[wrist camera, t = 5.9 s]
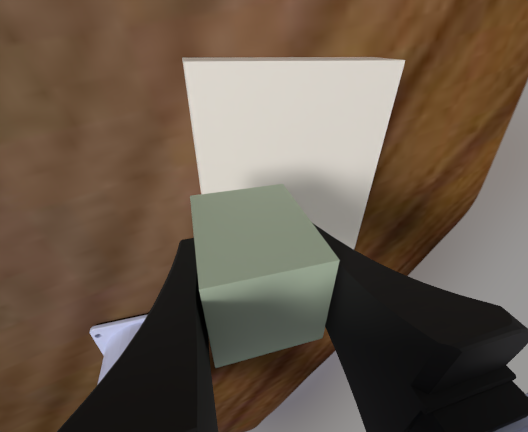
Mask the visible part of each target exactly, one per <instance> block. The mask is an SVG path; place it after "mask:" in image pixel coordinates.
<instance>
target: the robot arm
mask: <svg viewBox="0 0 528 432" xmlns="http://www.w3.org/2000/svg"><path fill="white" fill-rule="evenodd" d="M313 225H314V226H315V227H316V229H317V230H318V232H319V233H320V234H321V236H322V237H323V238H324V240H325V241H326V242H327V244H328V245H329V246H330V248H331V249H332V250H333V252H334V253H335V254H336V256H337V257H338V258H339V260H340V261H339V265H338V270H337V275H336V279H335V284H334V288H333V293H332V297H331V302H330V306H329V311H328V315H327V320H326V324H325V327H326V329H327V331H328V333H329V336H330V338H331V340H332V343H333V345H334V347H335V350H336V352H337V354H338V357H339V360H340V362H341V365H342V367H343V369H344V372H345V374H346V377H347V380H348V382H349V385H350V388H351V390H352V393H353V396H354V398H355V401H356V403H357V406H358V409H359V412H360V415H361V418H362V421H363V424H364V426H365V429H366V432H528V393H527V394H524V392H522V391H521V389H520V388H518V386H517V385H516V384H515V383H514V382H513V381H512V380H514V379H516V375H515V374H514V373H513V372H512V371H511V370H510V369H509V368H508V367H507V366H506V364H508V362H510V361H511V360H512V359H513V358H514V357H515V356H516V355H517V354H518V353H519V352H520V351H521V350H522V349H523V348H524V347H525V346H526V344H527V343H528V329H527V328H526V327H525V326H524V325H522V324H521V323H520V322H519V321H518V320H517V319H515V318H514V317H513V316H512V315H511V314H510V313H508V312H507V311H506V310H505V309H503V308H502V307H501V306H498V305H494V304H491V303H487V302H483V301H480V300H476V299H472V298H469V297H465V296H461V295H458V294H455V293H452V292H449V291H446V290H442V289H440V288H437V287H434V286H431V285H428V284H425V283H423V282H420V281H418V280H415V279H413V278H410V277H408V276H405V275H403V274H401V273H398V272H396V271H394V270H392V269H390V268H388V267H385V266H383V265H381V264H379V263H377V262H375V261H373V260H371V259H369V258H368V257H366V256H364V255H362V254H361V253H359V252H357V251H355V250H354V249H352V248H350V247H349V246H347V245H345V244H344V243H342V242H340V241H339V240H337V239H336V238H334V237H333V236H331V235H330V234H328V233H327V232H325V231H324V230H322V229H321V228H319V227H318V226H316V225H315V224H313ZM90 334H91V336H92V338H93V339H94V341H95V342H96V344H97V346H98V347H99V349H100V350H101V352H102V354H103V355H104V358H103V363H102V367H101V372H100V376H99V381H98V385H97V386H96V388H95V389H94V390H93V391H92V392H91V394H90V395H89V396H88V397H87V398H86V400H85V401H84V402H83V403H82V404H81V405H80V406H79V407H78V409H77V410H76V411H75V412H74V413H73V414H72V415H71V416H70V418H69V419H68V420H67V421H66V422H65V423H64V424H63V426H62V427H61V428H60V429H59V430H58V431H57V432H218V427H217V419H216V410H215V402H214V394H213V386H212V377H211V369H210V360H209V339H208V330H207V326H206V321H205V316H204V311H203V306H202V302H201V297H200V292H199V284H198V274H197V263H196V253H195V242H194V238H191V239H185V240H181V241H180V243H179V247H178V250H177V254H176V257H175V259H174V262H173V265H172V267H171V270H170V272H169V274H168V277H167V279H166V281H165V283H164V285H163V287H162V289H161V291H160V293H159V295H158V297H157V299H156V301H155V303H154V305H153V307H152V308H151V310H150V312H149V313H148V314H147V315H143V316H138V317H133V318H129V319H124V320H119V321H115V322H110V323H106V324H101V325H96V326H93V327H92V328H91V329H90Z"/></svg>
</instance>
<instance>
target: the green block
mask: <svg viewBox="0 0 528 432" xmlns="http://www.w3.org/2000/svg"><path fill="white" fill-rule="evenodd" d="M190 200H191V210H192V221H193V231H194V242H195V253H196V263H197V274H198V284H199V292H200V297H201V302H202V306H203V311H204V316H205V321H206V326H207V330H208V335H209V340H210V345H211V350H212V354H213V359H214V364H215V368H218V367H221V366H225V365H228V364H232V363H236V362H239V361H243V360H246V359H250V358H253V357H257V356H261V355H264V354H268V353H271V352H275V351H278V350H282V349H285V348H289V347H293V346H296V345H300V344H303V343H307V342H310V341H314V340H317V339H321V338H323V333H324V329H325V324H326V320H327V315H328V311H329V306H330V302H331V297H332V293H333V288H334V284H335V279H336V275H337V270H338V265H339V261H340V260H339V258H338V257H337V256H336V254H335V253H334V252H333V250H332V249H331V248H330V246H329V245H328V244H327V242H326V241H325V240H324V238H323V237H322V236H321V234H320V233H319V232H318V230H317V229H316V227H315V226H314V225H313V223H312V222H311V221H310V219H309V218H308V217H307V215H306V214H305V213H304V211H303V210H302V209H301V207H300V206H299V205H298V203H297V202H296V201H295V199H294V198H293V197H292V195H291V194H290V192H289V191H288V190H287V188H286V187H285V186H284V184H277V185H269V186H262V187H254V188H247V189H239V190H231V191H224V192H216V193H209V194H201V195H193V196H190Z"/></svg>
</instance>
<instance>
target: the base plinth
mask: <svg viewBox="0 0 528 432" xmlns="http://www.w3.org/2000/svg"><path fill="white" fill-rule="evenodd" d="M182 60H183V67H184V74H185V81H186V89H187V96H188V103H189V110H190V117H191V124H192V131H193V138H194V146H195V153H196V160H197V167H198V174H199V181H200V188H201V194H209V193H216V192H224V191H231V190H239V189H247V188H254V187H262V186H269V185H277V184H284V186H285V187H286V188H287V190H288V191H289V192H290V194H291V195H292V197H293V198H294V199H295V201H296V202H297V203H298V205H299V206H300V207H301V209H302V210H303V211H304V213H305V214H306V215H307V217H308V218H309V219H310V221H311V222H312V223H313V224H315V225H316V226H318V227H319V228H321V229H322V230H324V231H325V232H327V233H328V234H330V235H331V236H333V237H334V238H336V239H337V240H339V241H340V242H342V243H344V244H345V245H347V246H349V247H350V248H352V249H354V248H355V245H356V241H357V237H358V233H359V230H360V226H361V222H362V219H363V215H364V211H365V208H366V204H367V200H368V196H369V193H370V189H371V185H372V182H373V178H374V174H375V170H376V167H377V163H378V159H379V156H380V152H381V148H382V145H383V141H384V137H385V133H386V130H387V126H388V122H389V119H390V115H391V111H392V107H393V104H394V100H395V96H396V93H397V89H398V85H399V82H400V78H401V74H402V70H403V67H404V63H405V60H397V59H386V58H376V57H254V58H182Z"/></svg>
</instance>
